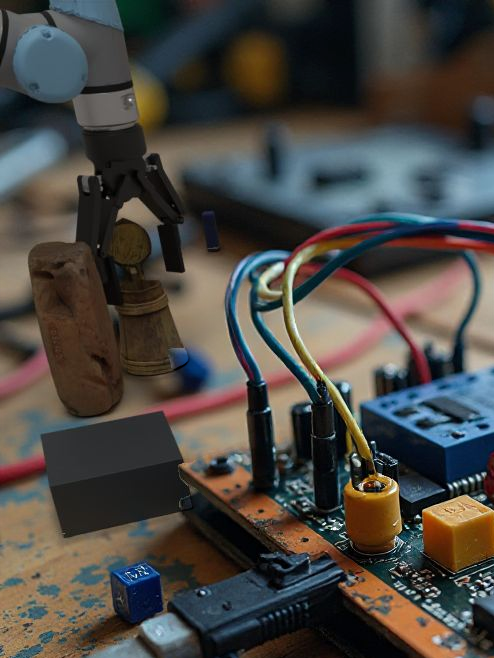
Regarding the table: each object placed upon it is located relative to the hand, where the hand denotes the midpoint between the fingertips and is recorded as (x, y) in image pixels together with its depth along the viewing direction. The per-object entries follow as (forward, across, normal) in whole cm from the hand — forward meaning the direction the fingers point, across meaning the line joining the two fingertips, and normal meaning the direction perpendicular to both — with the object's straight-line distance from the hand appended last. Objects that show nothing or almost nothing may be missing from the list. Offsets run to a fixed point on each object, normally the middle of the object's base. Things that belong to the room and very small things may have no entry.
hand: (146, 287), depth 146 cm
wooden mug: (+10, -1, 0) cm, 10 cm away
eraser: (+10, +45, +21) cm, 51 cm away
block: (+10, -16, -2) cm, 19 cm away
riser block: (+10, -35, -21) cm, 42 cm away
